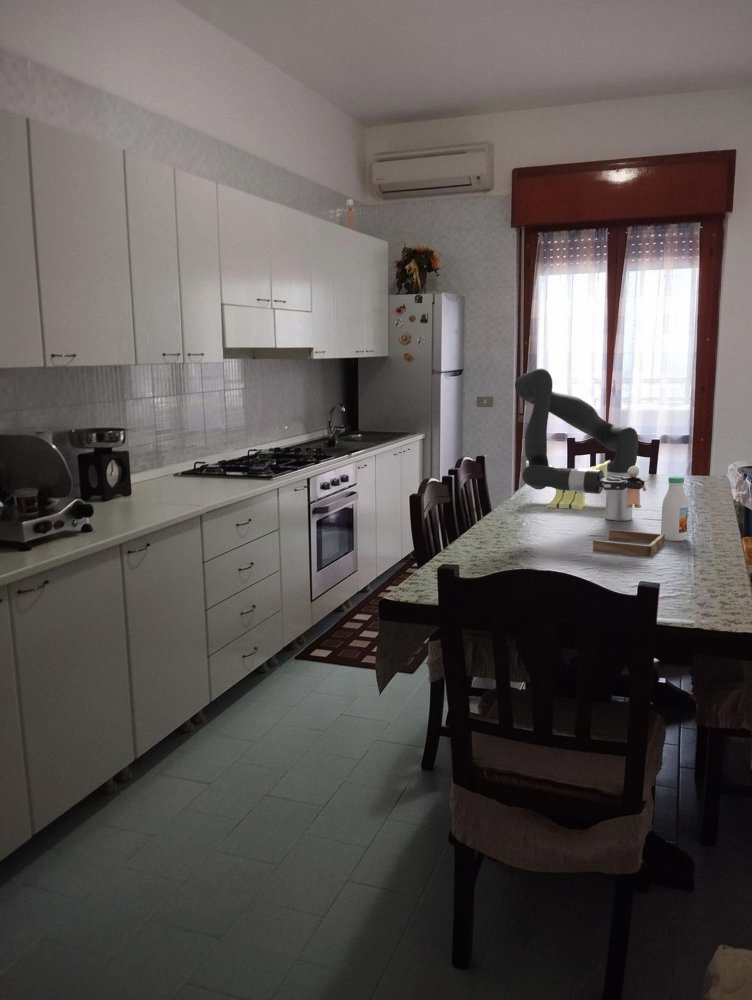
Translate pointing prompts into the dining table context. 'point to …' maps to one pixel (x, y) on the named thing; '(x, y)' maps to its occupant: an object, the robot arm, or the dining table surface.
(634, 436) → the robot arm
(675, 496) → the milk bottle
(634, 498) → the grandmother figurine
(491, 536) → the dining table surface
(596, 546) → the box
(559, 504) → the slatted curved stool
